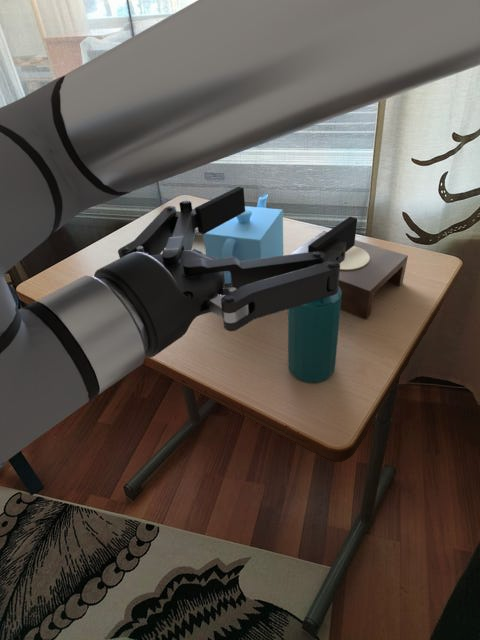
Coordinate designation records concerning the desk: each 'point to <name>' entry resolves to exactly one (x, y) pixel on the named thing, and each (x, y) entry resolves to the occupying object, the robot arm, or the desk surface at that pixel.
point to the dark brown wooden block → (365, 274)
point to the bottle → (314, 338)
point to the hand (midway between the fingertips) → (292, 213)
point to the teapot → (248, 235)
